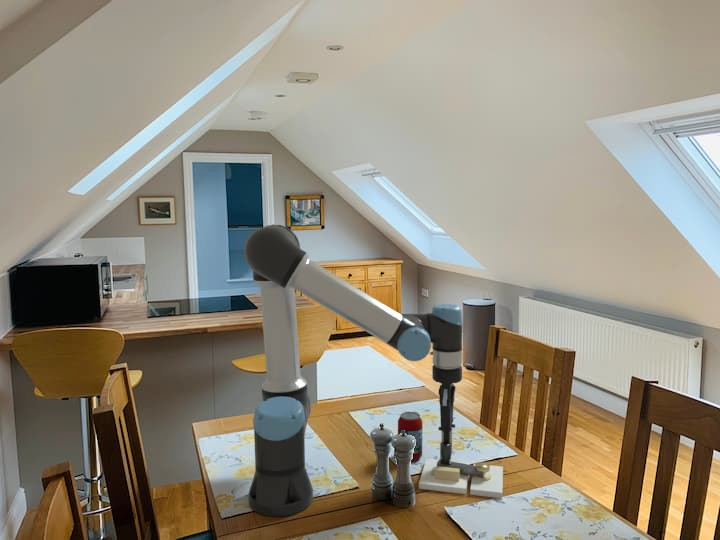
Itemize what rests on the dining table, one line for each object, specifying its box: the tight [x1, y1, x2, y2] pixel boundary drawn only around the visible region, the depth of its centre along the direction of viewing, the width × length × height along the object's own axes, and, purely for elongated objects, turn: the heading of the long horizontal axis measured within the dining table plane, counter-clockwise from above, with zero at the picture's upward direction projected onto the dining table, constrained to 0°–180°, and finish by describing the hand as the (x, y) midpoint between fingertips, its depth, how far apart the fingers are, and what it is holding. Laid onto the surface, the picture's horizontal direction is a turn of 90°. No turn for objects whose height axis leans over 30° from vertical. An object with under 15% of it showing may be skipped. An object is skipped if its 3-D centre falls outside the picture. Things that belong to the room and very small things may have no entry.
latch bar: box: [437, 442, 491, 478], centre depth 146 cm, size 13×4×7 cm, turn 66°
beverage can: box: [397, 411, 423, 462], centre depth 159 cm, size 7×7×12 cm
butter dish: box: [418, 458, 471, 495], centre depth 147 cm, size 14×12×4 cm
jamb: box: [470, 463, 504, 499], centre depth 145 cm, size 14×8×2 cm, turn 166°
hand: (446, 452), depth 150 cm, fingers closed
